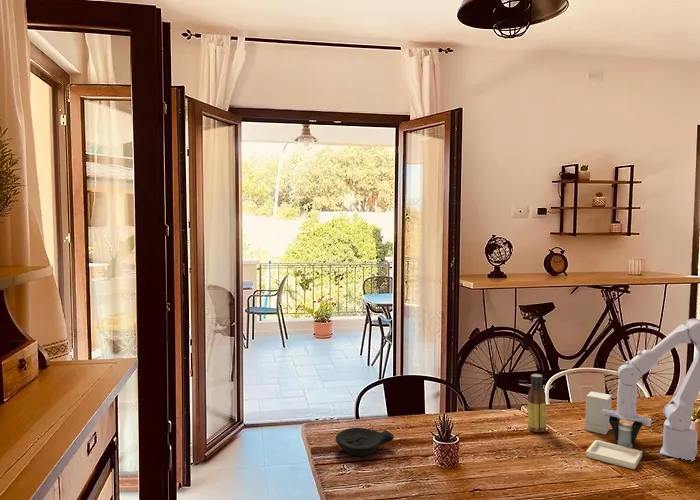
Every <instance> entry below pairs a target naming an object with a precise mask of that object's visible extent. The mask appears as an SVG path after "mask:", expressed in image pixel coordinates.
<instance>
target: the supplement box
mask: <svg viewBox="0 0 700 500" xmlns="http://www.w3.org/2000/svg"><path fill="white" fill-rule="evenodd" d="M585 397H586V398H585V413H584V414H585V415H584V416H585V419H584V420H585V421H584V430H585V431H588V432H592V433H597V434H602V435H607V433H608V432H609V431H610V430H611V424H610V423H609V418H610V417H608V416H602V410H603V409H607V410H612V394H607V393H603V392H596V391H590V392H589V393H588V394H586V396H585Z"/></svg>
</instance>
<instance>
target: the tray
mask: <svg viewBox="0 0 700 500" xmlns="http://www.w3.org/2000/svg"><path fill="white" fill-rule="evenodd" d="M585 458H590V459H593V460H596V461H597V460H598V461H601V462H604V463H608V464H612V465H616V466H620V467H623V468H626V469H631V470H636V468H637V466H638V465H639V463H640V461H641V459H642V458H643V450H639V449H635V448H633V447H632V448H628V447H624V446H620V445H618V444H616V443H611V442H607V441H602V440H599V439H595V440H594V441H593V442H592V443H591V445H590V446H589V447H588V448H587V449H586V450H585Z"/></svg>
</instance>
